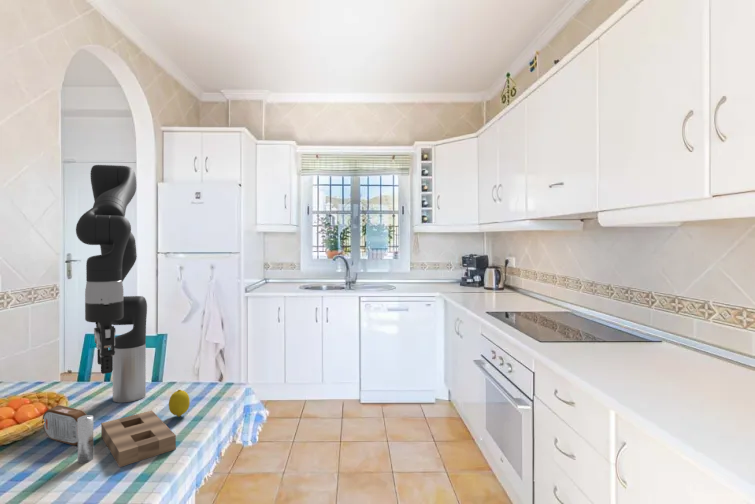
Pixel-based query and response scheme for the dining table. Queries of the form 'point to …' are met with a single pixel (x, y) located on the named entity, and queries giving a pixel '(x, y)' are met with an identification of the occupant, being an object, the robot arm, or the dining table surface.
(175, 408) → the lemon
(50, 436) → the tin
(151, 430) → the hole block
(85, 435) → the peg
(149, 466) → the dining table surface
